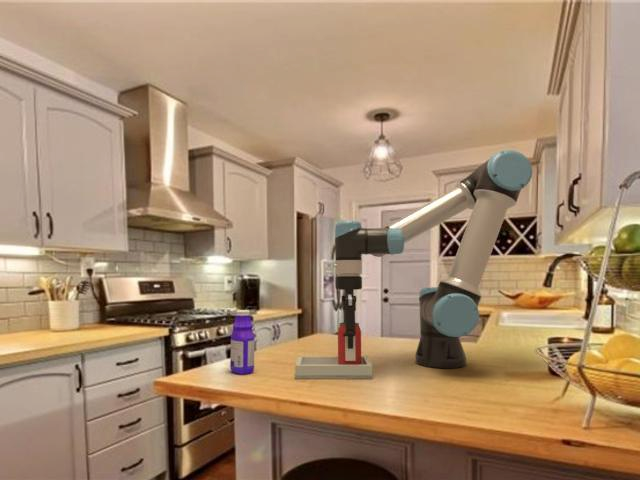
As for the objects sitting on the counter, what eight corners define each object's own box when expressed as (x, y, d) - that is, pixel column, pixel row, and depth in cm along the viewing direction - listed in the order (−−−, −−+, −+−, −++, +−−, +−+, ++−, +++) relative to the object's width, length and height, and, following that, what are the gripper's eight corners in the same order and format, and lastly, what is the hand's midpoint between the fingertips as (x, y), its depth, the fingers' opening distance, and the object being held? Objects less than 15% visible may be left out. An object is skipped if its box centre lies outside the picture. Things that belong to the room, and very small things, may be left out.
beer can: (349, 370, 110) (349, 325, 111) (333, 366, 115) (332, 323, 116) (366, 367, 114) (365, 323, 115) (349, 363, 119) (349, 321, 120)
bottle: (258, 372, 116) (258, 310, 118) (241, 376, 112) (242, 311, 113) (242, 368, 121) (243, 309, 122) (226, 372, 117) (227, 310, 118)
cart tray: (367, 368, 120) (367, 356, 121) (372, 379, 108) (372, 365, 108) (298, 368, 121) (298, 356, 121) (295, 379, 109) (295, 365, 109)
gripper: (334, 275, 127) (335, 350, 125) (336, 275, 107) (337, 365, 105) (359, 275, 127) (360, 350, 125) (364, 275, 107) (366, 365, 105)
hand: (349, 357), depth 115 cm, fingers open, 7 cm apart
